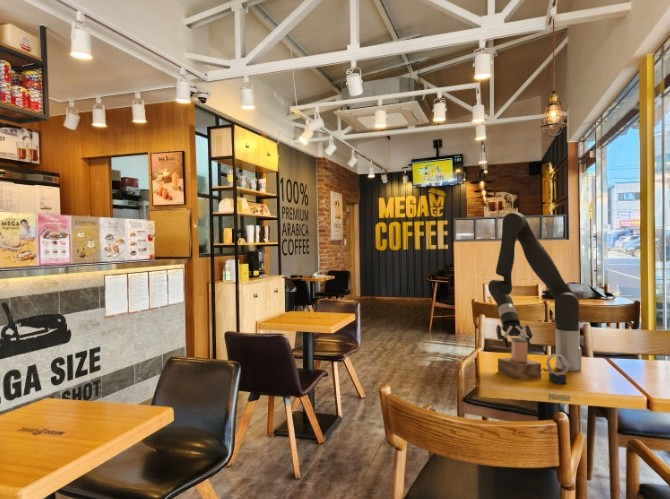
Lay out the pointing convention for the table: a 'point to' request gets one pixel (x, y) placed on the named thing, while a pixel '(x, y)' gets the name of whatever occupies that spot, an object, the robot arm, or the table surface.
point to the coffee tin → (519, 349)
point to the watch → (558, 376)
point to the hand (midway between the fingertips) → (518, 347)
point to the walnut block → (519, 368)
